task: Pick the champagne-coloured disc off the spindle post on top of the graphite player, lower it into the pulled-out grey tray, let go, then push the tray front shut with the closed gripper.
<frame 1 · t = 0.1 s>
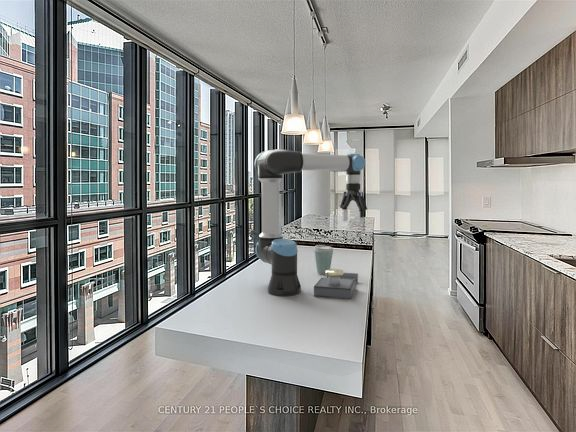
hand: (352, 222, 211), 28 cm above the table, fingers open, 13 cm apart
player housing: (335, 292, 176), on the table
disposable coffee cup: (323, 273, 213), on the table
disc: (334, 274, 173), point 9 cm above the table, touching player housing
tray: (339, 280, 188), point 2 cm above the table, slide at 12.0 cm
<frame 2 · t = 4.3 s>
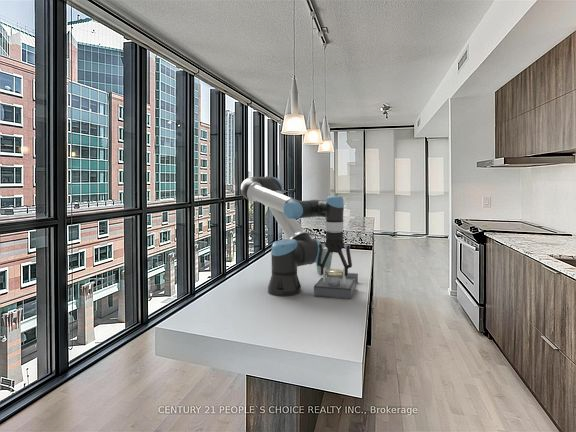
hand: (334, 282, 173), 5 cm above the table, fingers closed on disc, 8 cm apart
disc: (334, 274, 173), point 9 cm above the table, touching gripper, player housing
everything else where it was.
when the fingers open (2 cm above the table, at t = 9.5 s): disc drops 4 cm, resting on tray.
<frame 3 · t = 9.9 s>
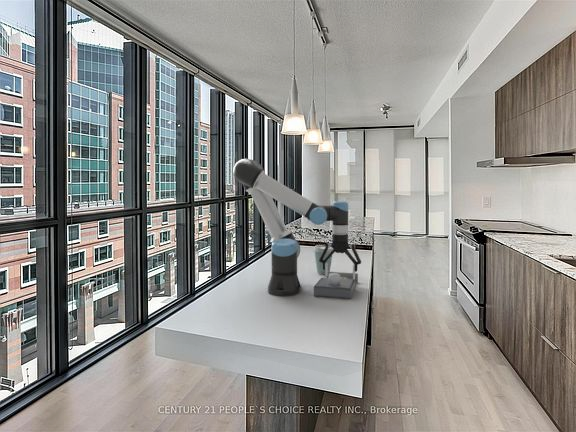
hand: (339, 277, 188), 4 cm above the table, fingers open, 13 cm apart
disc: (339, 281, 188), point 2 cm above the table, touching tray
tray: (339, 280, 188), point 2 cm above the table, slide at 12.0 cm, touching disc
everything else where it was.
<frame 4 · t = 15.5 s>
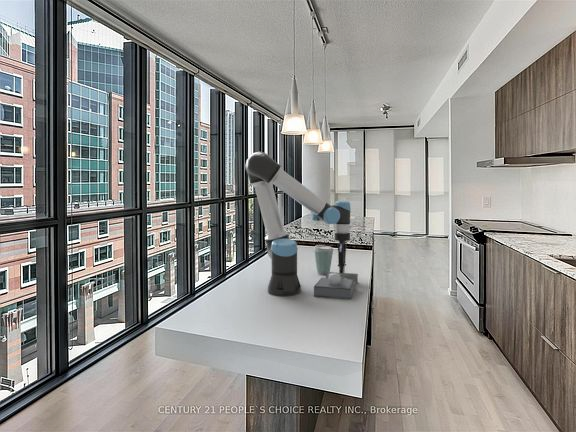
hand: (341, 278, 196), 1 cm above the table, fingers closed
tray: (339, 281, 187), point 2 cm above the table, slide at 11.1 cm, touching disc, gripper
everything else where it was.
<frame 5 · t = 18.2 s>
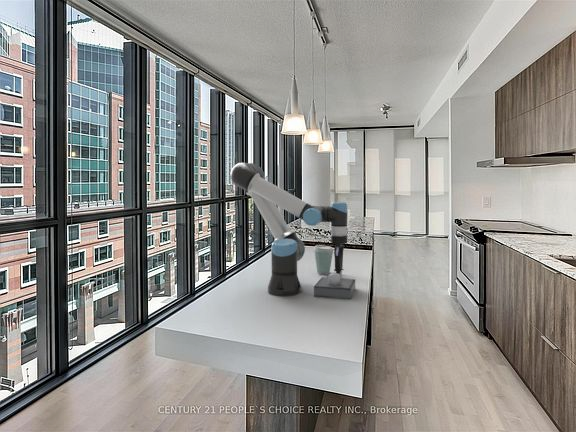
hand: (338, 284, 185), 1 cm above the table, fingers closed
disc: (335, 288, 177), point 2 cm above the table, touching tray
tray: (335, 287, 177), point 2 cm above the table, slide at 0.0 cm, touching disc, gripper
everything else where it was.
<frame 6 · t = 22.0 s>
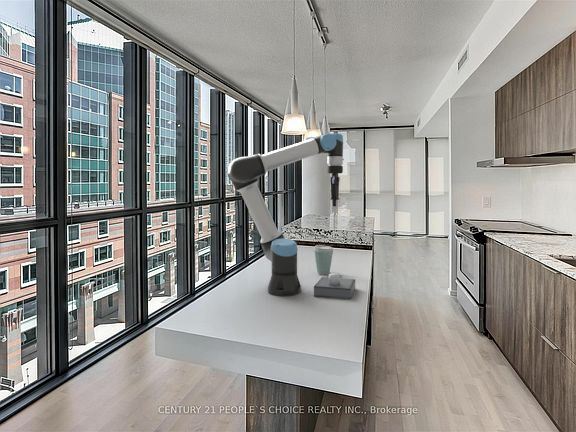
hand: (334, 212, 196), 34 cm above the table, fingers closed
tray: (335, 287, 177), point 2 cm above the table, slide at 0.0 cm, touching disc
everything else where it was.
at the end: tray slide at 0.0 cm; disc 1.4 cm from the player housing (horizontally); disc point 1.6 cm above the table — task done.
